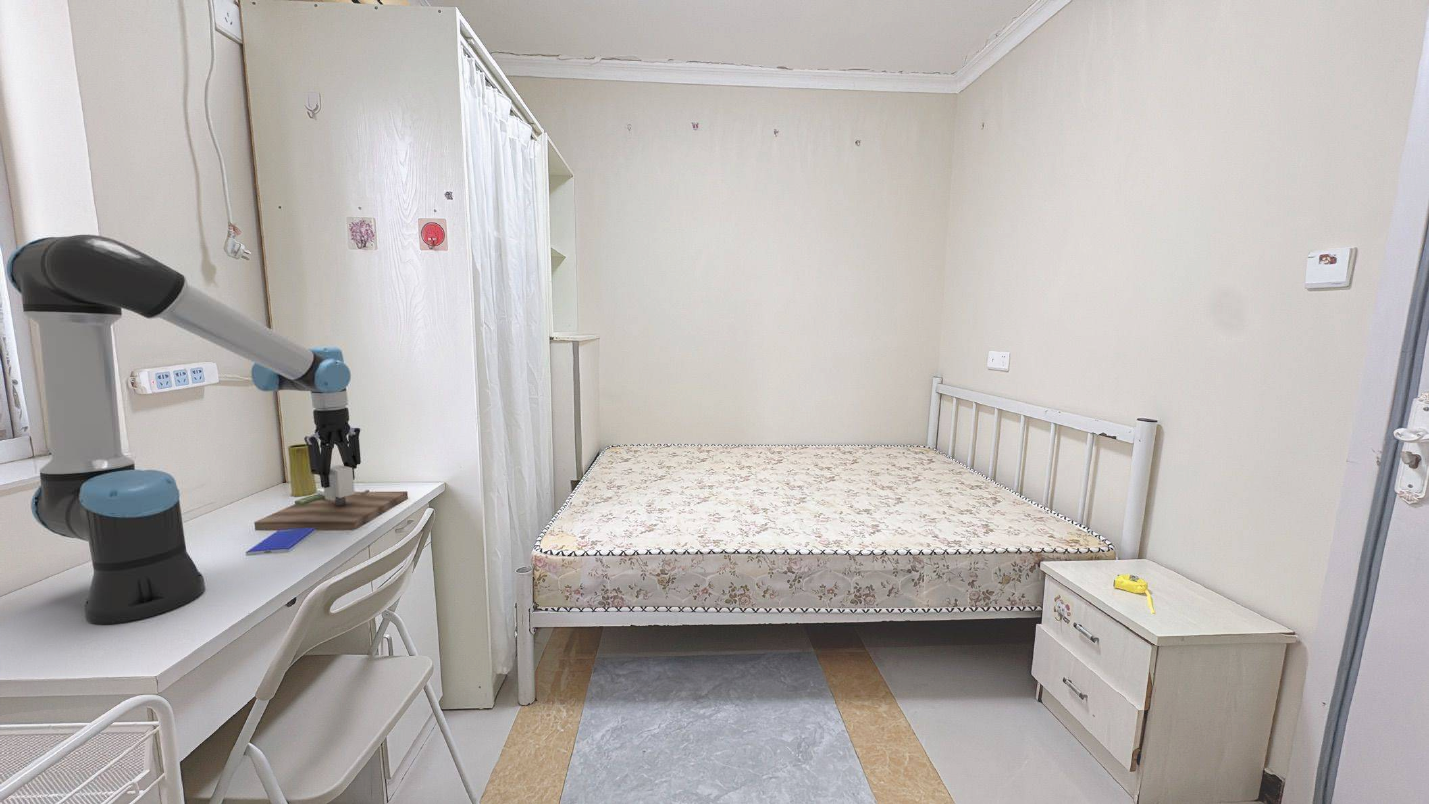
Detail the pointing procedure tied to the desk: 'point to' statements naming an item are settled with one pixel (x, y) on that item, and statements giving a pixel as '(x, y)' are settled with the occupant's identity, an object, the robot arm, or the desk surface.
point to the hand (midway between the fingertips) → (339, 495)
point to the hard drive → (281, 541)
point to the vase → (301, 471)
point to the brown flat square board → (332, 512)
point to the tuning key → (341, 483)
